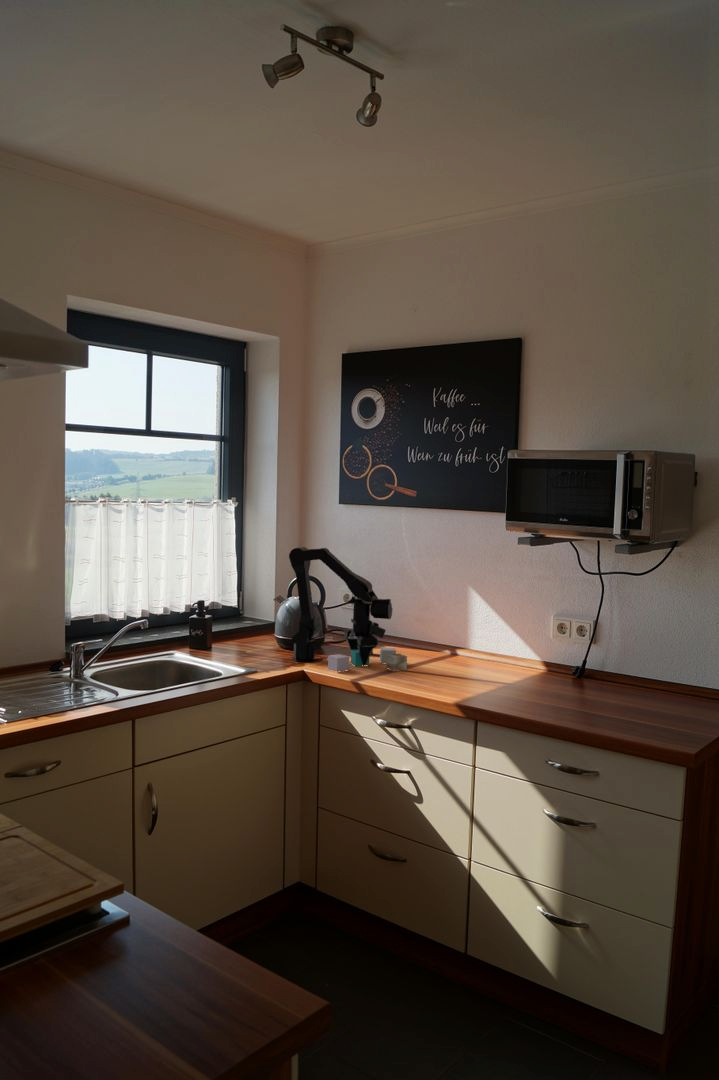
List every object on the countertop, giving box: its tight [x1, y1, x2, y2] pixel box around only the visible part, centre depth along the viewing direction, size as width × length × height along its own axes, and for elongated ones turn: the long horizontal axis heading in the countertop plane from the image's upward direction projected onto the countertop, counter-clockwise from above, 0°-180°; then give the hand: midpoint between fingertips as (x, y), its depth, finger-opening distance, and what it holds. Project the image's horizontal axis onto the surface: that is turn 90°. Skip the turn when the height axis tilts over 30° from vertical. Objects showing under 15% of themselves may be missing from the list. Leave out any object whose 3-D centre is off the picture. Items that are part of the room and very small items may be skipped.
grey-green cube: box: [385, 653, 408, 671], centre depth 296 cm, size 5×5×5 cm
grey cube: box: [379, 646, 397, 664], centre depth 307 cm, size 5×5×5 cm
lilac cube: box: [327, 653, 350, 672], centre depth 292 cm, size 5×5×5 cm
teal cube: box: [350, 650, 371, 667], centre depth 301 cm, size 5×5×5 cm
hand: (359, 661), depth 302 cm, fingers open, 9 cm apart
